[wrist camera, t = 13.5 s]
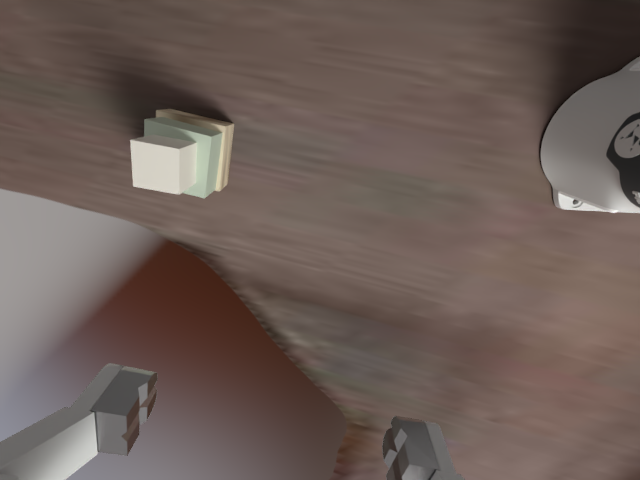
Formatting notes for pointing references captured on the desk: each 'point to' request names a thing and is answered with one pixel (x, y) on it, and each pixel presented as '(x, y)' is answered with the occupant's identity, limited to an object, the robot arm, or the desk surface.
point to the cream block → (163, 163)
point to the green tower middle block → (206, 150)
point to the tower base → (212, 125)
